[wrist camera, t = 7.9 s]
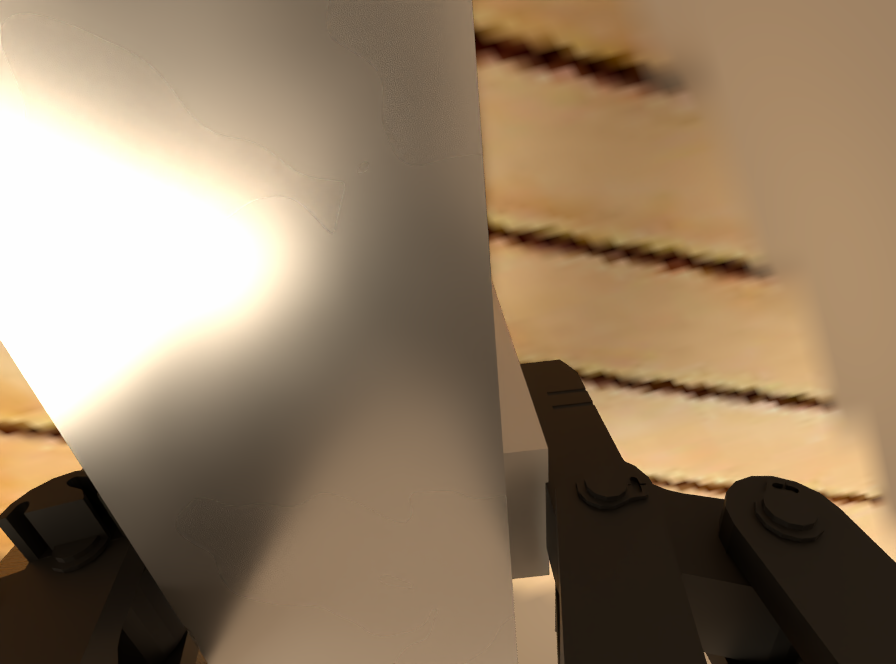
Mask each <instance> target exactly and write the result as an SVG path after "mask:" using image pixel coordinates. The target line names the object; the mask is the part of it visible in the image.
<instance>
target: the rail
mask: <svg viewBox="0 0 896 664" xmlns="http://www.w3.org/2000/svg"><path fill="white" fill-rule="evenodd" d="M0 340H1V341H2V343H3V344H4V346H5V347H6V349H7V350H8V352H9V354H10V355H11V357H12V358H13V360H14V361H15V363H16V365H17V366H18V368H19V369H20V371H21V372H22V374H23V375H24V377H25V379H26V380H27V382H28V383H29V385H30V386H31V388H32V390H33V391H34V393H35V394H36V396H37V397H38V399H39V400H40V402H41V404H42V405H43V407H44V408H45V410H46V411H47V413H48V415H49V416H50V418H51V419H52V421H53V422H54V424H55V425H56V427H57V429H58V430H59V432H60V433H61V435H62V436H63V438H64V439H65V441H66V443H67V444H68V446H69V447H70V449H71V450H72V452H73V454H74V455H75V457H76V458H77V460H78V461H79V463H80V464H81V466H82V468H83V469H84V471H85V472H86V474H87V475H88V477H89V479H90V480H91V482H92V483H93V485H94V486H95V488H96V489H97V491H98V493H99V494H100V496H101V497H102V499H103V500H104V502H105V504H106V505H107V507H108V508H109V510H110V511H111V513H112V514H113V516H114V518H115V519H116V521H117V522H118V524H119V525H120V527H121V529H122V530H123V532H124V533H125V535H126V536H127V538H128V539H129V541H130V543H131V544H132V546H133V547H134V549H135V550H136V552H137V554H138V555H139V557H140V558H141V560H142V561H143V563H144V564H145V566H146V568H147V569H148V571H149V572H150V574H151V575H152V577H153V579H154V580H155V582H156V583H157V585H158V586H159V588H160V589H161V591H162V593H163V594H164V596H165V597H166V599H167V600H168V602H169V604H170V605H171V607H172V608H173V610H174V611H175V613H176V614H177V616H178V618H179V619H180V621H181V622H182V624H183V625H184V627H185V629H186V630H187V632H188V633H189V635H190V636H191V638H192V639H193V641H194V643H195V644H196V646H197V647H198V649H199V650H200V652H201V654H202V655H203V657H204V658H205V660H206V661H207V663H208V664H518V658H517V643H516V630H515V629H516V628H515V615H514V599H513V585H512V571H511V556H510V542H509V527H508V513H507V498H506V484H505V469H504V455H503V441H502V426H501V412H500V397H499V383H498V368H497V354H496V339H495V325H494V311H493V296H492V282H491V267H490V253H489V238H488V224H487V209H486V195H485V181H484V166H483V152H482V137H481V123H480V108H479V94H478V79H477V65H476V51H475V36H474V22H473V7H472V0H0Z"/></svg>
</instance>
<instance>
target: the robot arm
mask: <svg viewBox="0 0 896 664" xmlns="http://www.w3.org/2000/svg"><path fill="white" fill-rule="evenodd" d="M491 282H492V280H491ZM492 296H493V311H494V325H495V339H496V354H497V368H498V383H499V397H500V412H501V426H502V441H503V455H504V469H505V484H506V498H507V513H508V527H509V542H510V556H511V571H512V579H516V578H525V577H534V576H544V575H549V560H550V564H551V568H552V572H553V576H554V579H555V608H556V609H555V613H556V614H555V617H556V618H555V625H556V626H555V627H556V628H555V631H556V632H557V652H558V653H557V654H558V664H707V662H706V659H705V655H704V652H706V654H707V656H708V658H709V660H710V662H711V663H712V664H896V562H895V561H893V560H892V559H891V558H890V557H889V556H888V555H887V554H886V553H885V552H884V551H883V550H882V549H881V548H880V547H879V546H878V545H877V544H876V543H875V542H874V541H873V540H872V539H871V538H870V537H869V536H868V535H867V534H866V533H865V532H864V531H863V530H862V529H861V528H860V527H859V526H858V525H856V524H855V523H854V522H853V521H852V520H851V519H850V518H849V517H848V516H847V515H846V514H845V513H844V512H843V511H842V510H841V509H840V508H839V507H837V506H836V505H835V504H834V503H832V502H831V501H830V500H828V499H827V498H826V497H824V496H823V495H822V494H820V493H819V492H816V491H814V490H812V489H810V488H808V487H806V486H804V485H802V484H799V483H797V482H794V481H790V480H786V479H782V478H778V477H774V476H750V477H747V478H744V479H741V480H738V481H736V482H735V483H734V484H733V485H732V486H731V487H730V488H729V489H728V491H727V492H726V495H725V499H718V498H711V497H704V496H697V495H690V494H683V493H679V492H674V491H670V490H666V489H663V488H661V487H658V486H656V485H653V484H652V482H651V480H650V479H649V477H648V476H646V475H645V474H644V473H643V472H642V471H640V470H639V469H638V468H637V467H636V466H634V465H632V464H629V463H627V462H625V461H624V460H623V458H622V457H621V455H620V453H619V451H618V449H617V447H616V445H615V443H614V442H613V440H612V438H611V436H610V434H609V432H608V430H607V428H606V426H605V424H604V422H603V421H602V419H601V417H600V415H599V413H598V411H597V409H596V407H595V405H593V402H592V400H591V398H590V396H589V394H588V392H587V391H586V390H585V386H584V384H583V383H582V381H581V379H580V377H579V375H578V373H577V372H576V371H575V370H573V369H572V368H571V367H569V366H568V365H567V364H565V363H564V362H562V361H561V360H552V361H543V362H535V363H526V364H520V363H519V360H518V357H517V354H516V351H515V348H514V345H513V342H512V339H511V337H510V334H509V331H508V328H507V325H506V322H505V319H504V316H503V313H502V310H501V307H500V304H499V301H498V298H497V295H496V292H495V289H494V286H493V283H492ZM0 527H1V529H2V530H3V531H4V532H5V534H6V535H7V536H8V537H9V538H10V540H11V541H12V542H13V543H14V545H15V546H16V547H17V548H18V549H19V551H20V552H21V553H22V554H23V556H24V557H25V558H26V559H27V560H28V562H29V563H28V565H27V566H26V568H25V570H22V571H19V572H16V573H13V574H10V575H8V576H5V577H2V578H0V664H196V660H197V655H198V651H199V649H198V647H197V646H196V644H195V643H194V641H193V639H192V638H191V636H190V635H189V633H188V632H187V630H186V629H185V627H184V625H183V624H182V622H181V621H180V619H179V618H178V616H177V614H176V613H175V611H174V610H173V608H172V607H171V605H170V604H169V602H168V600H167V599H166V597H165V596H164V594H163V593H162V591H161V589H160V588H159V586H158V585H157V583H156V582H155V580H154V579H153V577H152V575H151V574H150V572H149V571H148V569H147V568H146V566H145V564H144V563H143V561H142V560H141V558H140V557H139V555H138V554H137V552H136V550H135V549H134V547H133V546H132V544H131V543H130V541H129V539H128V538H127V536H126V535H125V533H124V532H123V530H122V529H121V527H120V525H119V524H118V522H117V521H116V519H115V518H114V516H113V514H112V513H111V511H110V510H109V508H108V507H107V505H106V504H105V502H104V500H103V499H102V497H101V496H100V494H99V493H98V491H97V489H96V488H95V486H94V485H93V483H92V482H91V480H90V479H89V477H88V475H87V474H86V472H85V471H84V470H82V471H74V472H71V473H68V474H65V475H62V476H59V477H56V478H53V479H51V480H50V481H48V482H46V483H44V484H42V485H40V486H38V487H36V488H34V489H32V490H30V491H29V492H27V493H26V494H25V495H23V496H22V497H20V498H19V499H18V500H16V501H15V502H13V503H12V504H11V505H10V506H9V507H8V508H7V509H6V510H5V511H4V512H3V513H2V514H1V515H0Z"/></svg>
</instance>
